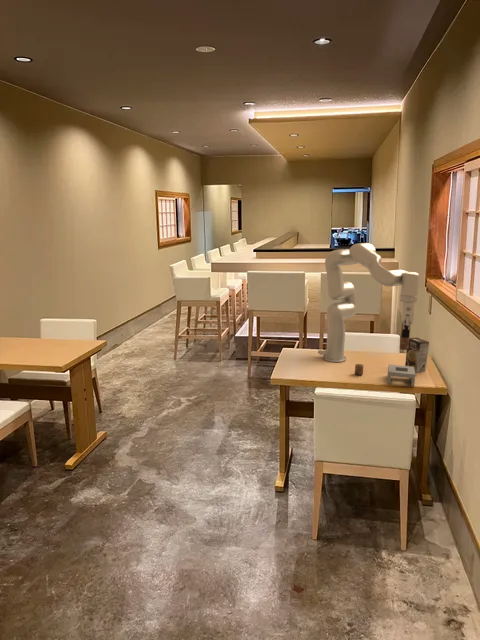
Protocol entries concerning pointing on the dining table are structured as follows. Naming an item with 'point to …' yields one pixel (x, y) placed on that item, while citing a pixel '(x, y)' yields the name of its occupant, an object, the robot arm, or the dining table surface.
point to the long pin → (404, 340)
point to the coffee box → (417, 354)
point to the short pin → (359, 369)
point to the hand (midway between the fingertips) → (405, 335)
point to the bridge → (401, 372)
